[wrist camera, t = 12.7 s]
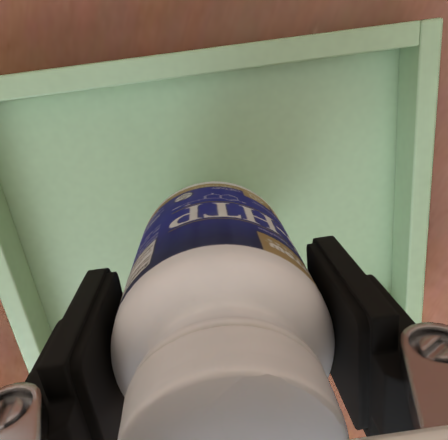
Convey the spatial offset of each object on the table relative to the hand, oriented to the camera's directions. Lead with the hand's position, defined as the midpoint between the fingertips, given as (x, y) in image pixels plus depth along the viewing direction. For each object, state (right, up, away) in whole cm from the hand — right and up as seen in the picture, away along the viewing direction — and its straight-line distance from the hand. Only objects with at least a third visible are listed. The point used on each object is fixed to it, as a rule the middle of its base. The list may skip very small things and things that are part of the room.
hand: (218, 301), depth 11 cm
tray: (0, +2, +6) cm, 7 cm away
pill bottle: (0, +1, +4) cm, 4 cm away
